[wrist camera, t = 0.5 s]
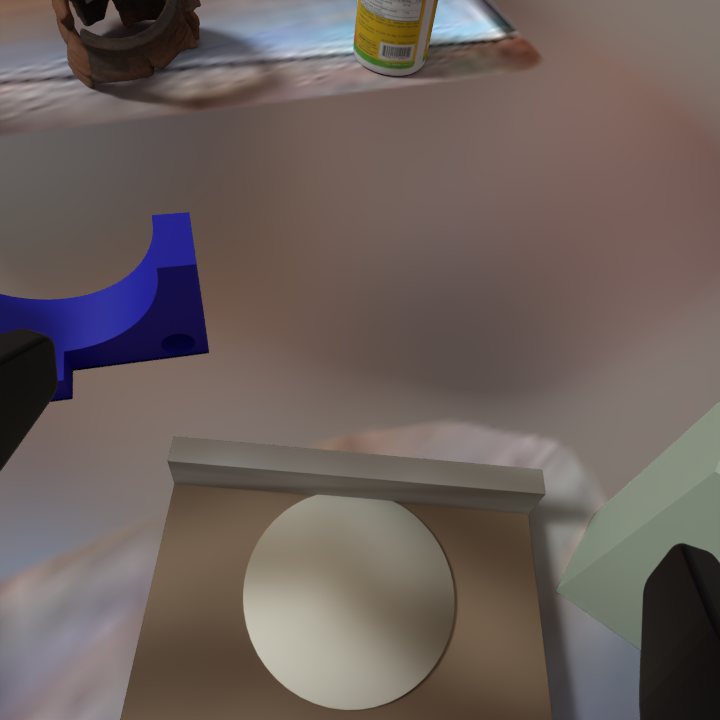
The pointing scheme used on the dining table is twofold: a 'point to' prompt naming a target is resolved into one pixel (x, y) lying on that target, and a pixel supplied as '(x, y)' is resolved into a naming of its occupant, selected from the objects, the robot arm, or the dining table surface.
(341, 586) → the walnut board
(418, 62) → the supplement bottle
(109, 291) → the blue notched block
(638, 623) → the sage block
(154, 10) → the pottery mug
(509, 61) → the dining table surface
